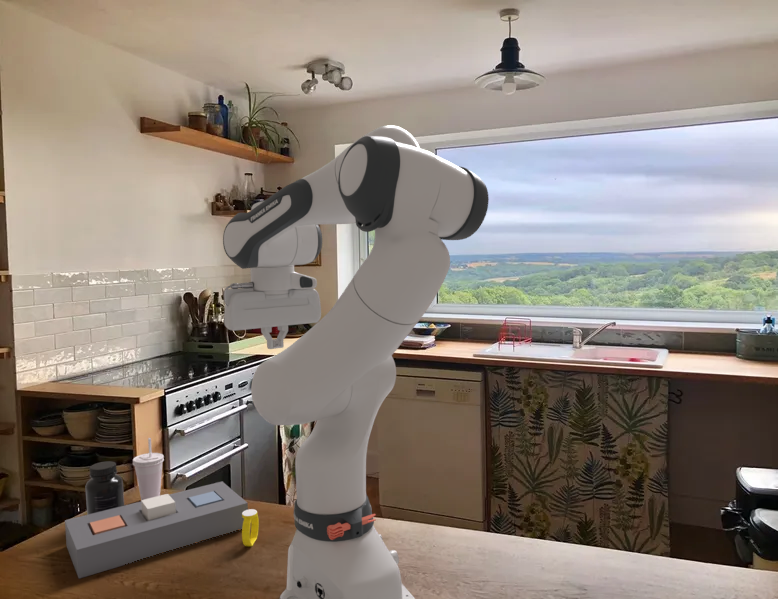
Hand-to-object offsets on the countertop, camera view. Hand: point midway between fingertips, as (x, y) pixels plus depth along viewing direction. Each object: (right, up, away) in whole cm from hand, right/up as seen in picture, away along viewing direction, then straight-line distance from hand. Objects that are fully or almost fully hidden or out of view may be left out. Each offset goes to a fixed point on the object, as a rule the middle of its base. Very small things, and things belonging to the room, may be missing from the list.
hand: (275, 348), depth 123 cm
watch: (-2, -36, -12) cm, 37 cm away
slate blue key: (-13, -34, -3) cm, 37 cm away
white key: (-20, -33, -9) cm, 40 cm away
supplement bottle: (-34, -35, -2) cm, 49 cm away
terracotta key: (-28, -35, -14) cm, 47 cm away
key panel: (-20, -35, -9) cm, 42 cm away
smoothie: (-29, -34, +9) cm, 46 cm away
